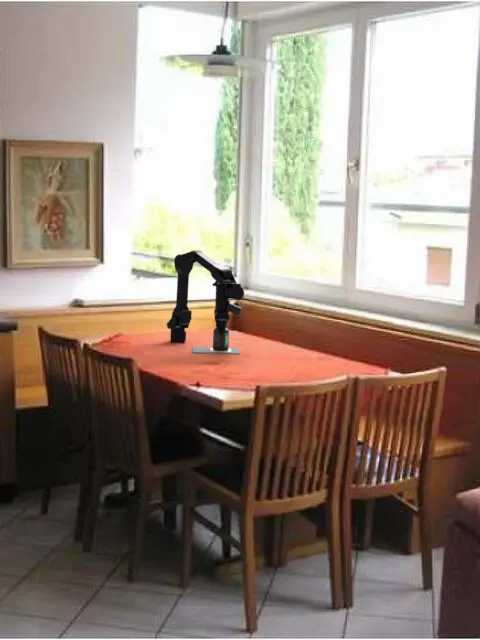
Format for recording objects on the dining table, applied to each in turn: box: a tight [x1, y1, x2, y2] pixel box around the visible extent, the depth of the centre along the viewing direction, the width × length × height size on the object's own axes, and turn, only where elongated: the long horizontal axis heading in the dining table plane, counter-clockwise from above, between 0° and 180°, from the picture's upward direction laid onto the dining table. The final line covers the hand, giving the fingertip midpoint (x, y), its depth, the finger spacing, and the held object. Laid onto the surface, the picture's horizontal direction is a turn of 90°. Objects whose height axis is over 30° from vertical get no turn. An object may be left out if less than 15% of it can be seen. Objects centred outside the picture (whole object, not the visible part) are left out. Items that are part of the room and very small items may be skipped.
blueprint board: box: [192, 346, 241, 355], centre depth 407 cm, size 20×13×1 cm, turn 92°
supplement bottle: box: [212, 322, 230, 351], centre depth 407 cm, size 7×7×12 cm
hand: (221, 333), depth 407 cm, fingers open, 9 cm apart
